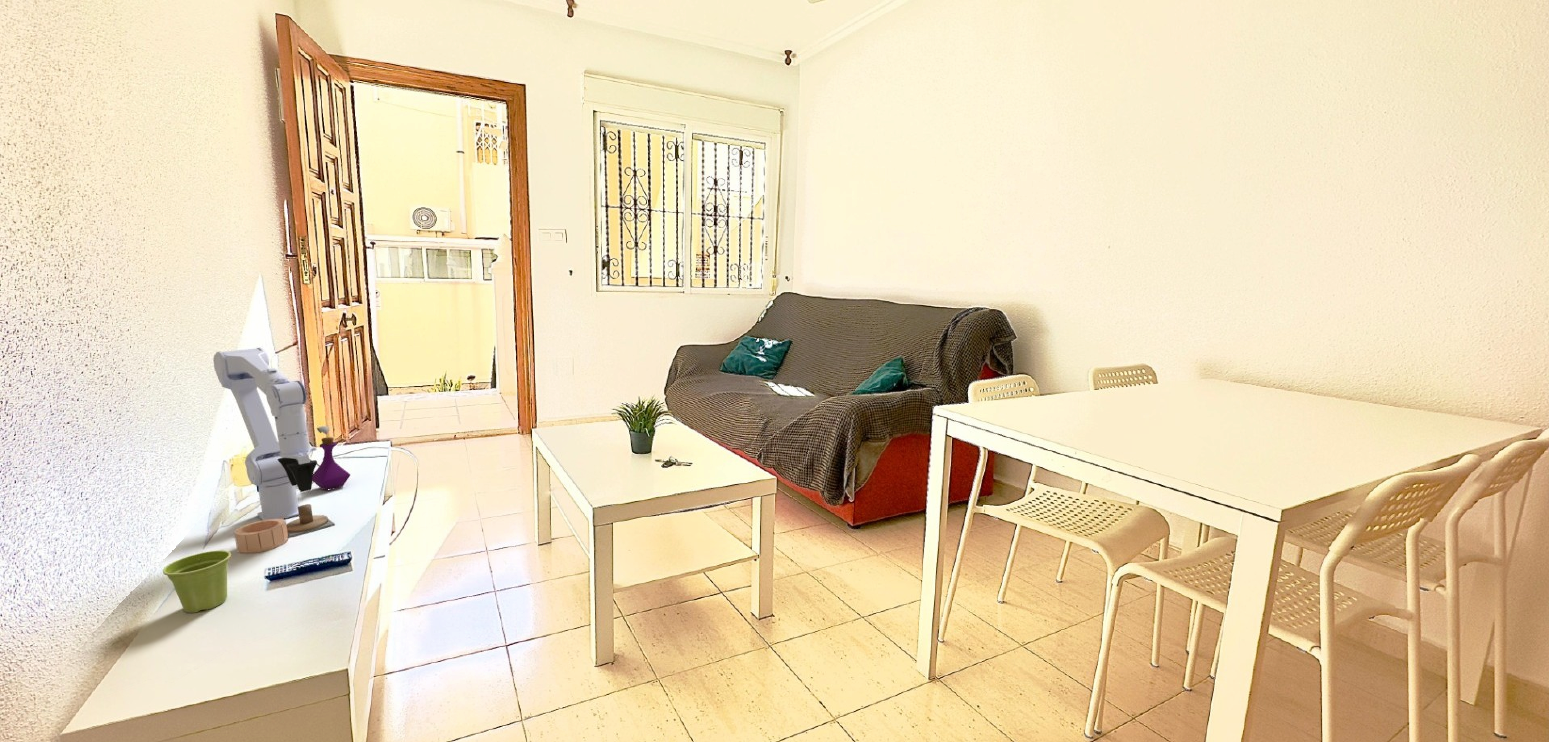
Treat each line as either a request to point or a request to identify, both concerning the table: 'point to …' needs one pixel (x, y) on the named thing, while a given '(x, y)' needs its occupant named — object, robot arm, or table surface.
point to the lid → (306, 520)
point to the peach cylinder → (261, 536)
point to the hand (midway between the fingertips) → (301, 487)
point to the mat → (328, 524)
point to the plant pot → (200, 579)
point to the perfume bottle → (329, 466)
